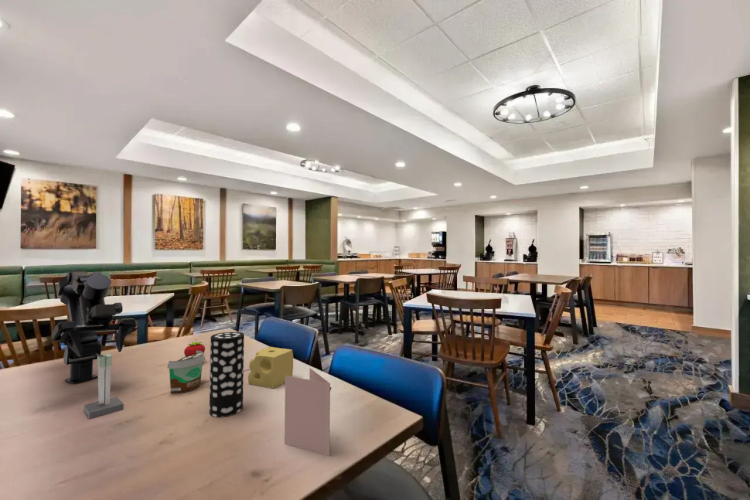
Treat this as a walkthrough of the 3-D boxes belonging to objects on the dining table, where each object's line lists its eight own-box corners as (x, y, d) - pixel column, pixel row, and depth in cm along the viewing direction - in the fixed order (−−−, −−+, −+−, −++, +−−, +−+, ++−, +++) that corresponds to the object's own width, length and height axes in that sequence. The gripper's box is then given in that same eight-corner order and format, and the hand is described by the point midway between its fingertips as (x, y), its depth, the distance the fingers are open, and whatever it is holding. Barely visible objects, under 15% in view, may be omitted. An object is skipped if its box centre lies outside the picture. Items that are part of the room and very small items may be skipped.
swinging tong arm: (97, 402, 88) (97, 355, 88) (102, 400, 88) (102, 354, 89) (99, 405, 86) (99, 357, 86) (104, 403, 87) (104, 356, 87)
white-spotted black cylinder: (249, 405, 91) (250, 333, 91) (227, 419, 83) (228, 340, 83) (225, 400, 93) (227, 330, 94) (201, 414, 86) (203, 337, 86)
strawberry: (180, 366, 123) (180, 339, 123) (198, 360, 129) (199, 335, 130) (189, 368, 120) (190, 341, 120) (208, 362, 127) (209, 337, 127)
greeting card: (333, 454, 69) (333, 382, 69) (299, 466, 65) (299, 390, 65) (312, 430, 78) (313, 367, 78) (281, 439, 74) (282, 372, 74)
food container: (184, 397, 96) (185, 363, 96) (166, 395, 97) (167, 361, 97) (213, 381, 108) (213, 351, 108) (197, 380, 109) (197, 350, 109)
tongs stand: (84, 410, 87) (85, 355, 87) (116, 401, 92) (118, 350, 93) (89, 419, 83) (90, 361, 83) (123, 409, 88) (124, 355, 88)
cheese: (247, 384, 106) (248, 353, 106) (270, 373, 116) (270, 345, 116) (273, 389, 102) (274, 357, 102) (294, 378, 112) (294, 348, 112)
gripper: (62, 293, 90) (68, 342, 83) (139, 293, 106) (149, 334, 99) (48, 316, 94) (53, 365, 87) (125, 313, 110) (134, 354, 103)
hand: (101, 353), depth 94 cm, fingers open, 9 cm apart
